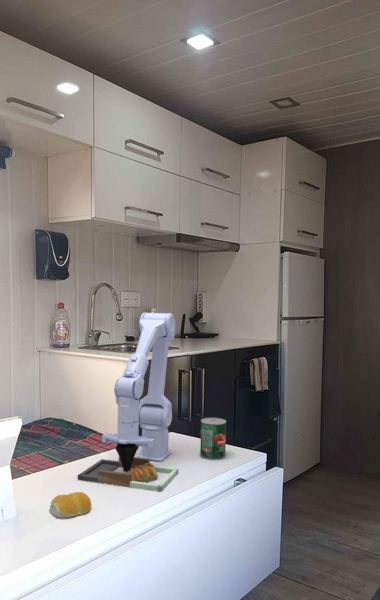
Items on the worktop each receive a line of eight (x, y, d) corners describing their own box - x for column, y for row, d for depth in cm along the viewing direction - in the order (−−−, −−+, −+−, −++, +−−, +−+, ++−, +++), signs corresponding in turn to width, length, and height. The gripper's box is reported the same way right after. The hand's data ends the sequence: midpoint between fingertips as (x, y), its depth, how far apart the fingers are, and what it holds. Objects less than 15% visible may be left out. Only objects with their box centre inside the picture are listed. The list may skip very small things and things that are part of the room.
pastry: (131, 488, 127) (132, 473, 127) (116, 481, 132) (116, 466, 132) (160, 479, 133) (160, 465, 133) (144, 473, 138) (144, 459, 138)
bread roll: (97, 512, 113) (97, 494, 113) (60, 522, 107) (60, 504, 107) (80, 500, 119) (80, 483, 119) (44, 509, 113) (45, 492, 113)
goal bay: (149, 469, 140) (149, 465, 140) (178, 472, 138) (178, 468, 138) (129, 487, 127) (129, 482, 127) (160, 491, 125) (161, 486, 125)
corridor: (120, 465, 143) (120, 455, 143) (149, 469, 140) (149, 458, 140) (98, 482, 130) (98, 471, 130) (129, 487, 127) (130, 475, 127)
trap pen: (101, 463, 145) (101, 459, 145) (120, 465, 143) (120, 461, 143) (77, 479, 131) (77, 475, 131) (98, 482, 130) (98, 478, 130)
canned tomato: (225, 460, 149) (225, 424, 149) (199, 459, 150) (199, 423, 150) (225, 452, 157) (226, 418, 157) (201, 451, 158) (201, 417, 158)
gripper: (97, 421, 133) (96, 472, 133) (147, 427, 129) (146, 479, 129) (108, 416, 140) (107, 464, 140) (157, 420, 136) (155, 470, 136)
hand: (127, 470), depth 135 cm, fingers closed
